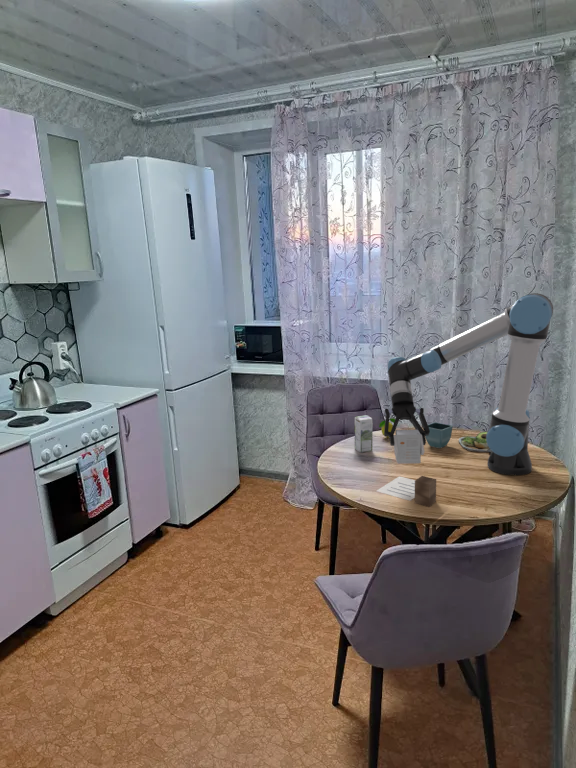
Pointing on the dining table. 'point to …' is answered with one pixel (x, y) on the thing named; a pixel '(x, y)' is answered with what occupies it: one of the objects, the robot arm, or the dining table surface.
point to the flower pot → (439, 434)
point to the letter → (400, 488)
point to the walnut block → (425, 491)
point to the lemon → (389, 425)
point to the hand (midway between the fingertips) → (409, 453)
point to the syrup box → (363, 433)
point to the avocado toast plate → (476, 442)
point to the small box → (408, 446)
